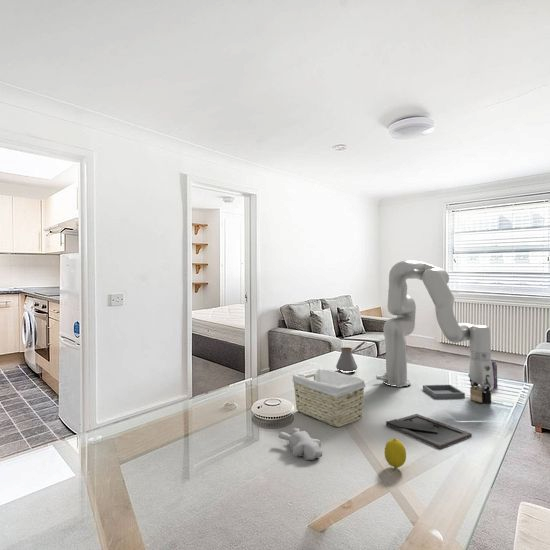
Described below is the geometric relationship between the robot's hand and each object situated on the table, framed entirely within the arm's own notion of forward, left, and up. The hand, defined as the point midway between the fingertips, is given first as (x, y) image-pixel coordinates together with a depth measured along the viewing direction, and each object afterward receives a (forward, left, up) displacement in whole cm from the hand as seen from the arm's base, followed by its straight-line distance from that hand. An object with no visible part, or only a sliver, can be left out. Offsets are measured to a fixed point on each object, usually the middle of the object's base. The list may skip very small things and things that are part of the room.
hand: (480, 398), depth 151 cm
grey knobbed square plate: (0, 0, -1) cm, 1 cm away
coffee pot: (-40, +55, -1) cm, 68 cm away
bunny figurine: (-77, -39, -1) cm, 86 cm away
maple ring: (0, 0, 0) cm, 0 cm away
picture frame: (-34, -27, -2) cm, 43 cm away
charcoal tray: (-11, +10, -1) cm, 15 cm away
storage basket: (-64, -11, -1) cm, 65 cm away
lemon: (-53, -50, -1) cm, 73 cm away
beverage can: (+15, +20, -1) cm, 25 cm away
